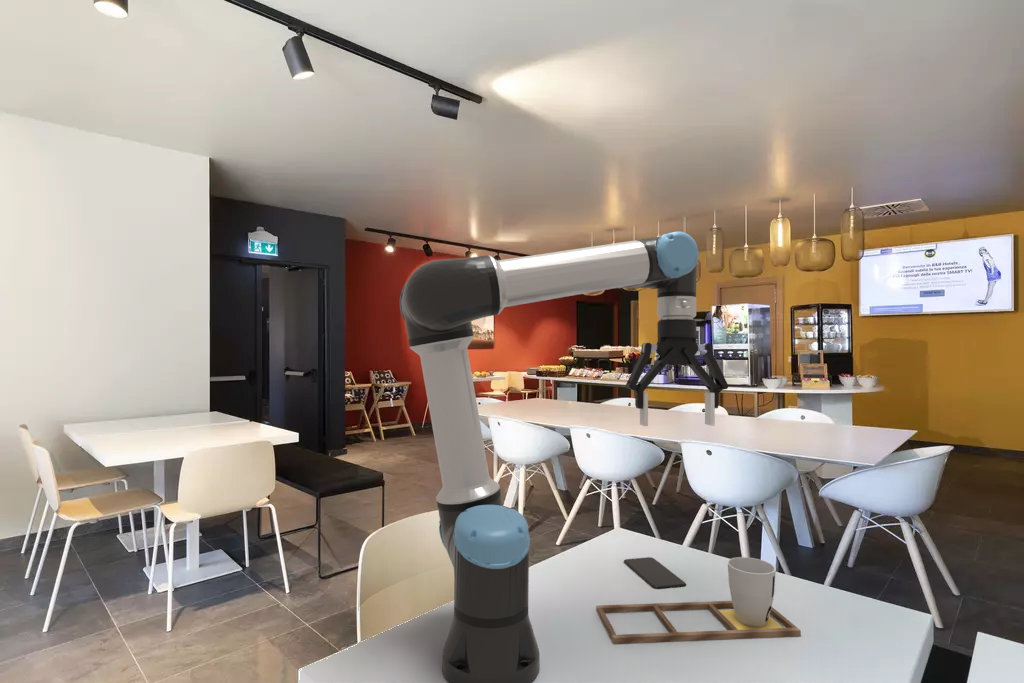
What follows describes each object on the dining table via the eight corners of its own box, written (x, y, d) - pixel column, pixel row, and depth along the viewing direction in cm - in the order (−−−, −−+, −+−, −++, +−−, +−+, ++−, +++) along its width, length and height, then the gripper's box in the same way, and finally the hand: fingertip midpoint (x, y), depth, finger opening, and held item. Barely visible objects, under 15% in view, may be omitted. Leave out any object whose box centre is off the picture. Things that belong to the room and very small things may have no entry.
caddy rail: (613, 643, 92) (613, 637, 92) (596, 610, 104) (596, 605, 104) (800, 636, 95) (800, 630, 95) (763, 604, 107) (763, 599, 107)
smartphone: (688, 588, 116) (652, 560, 131) (688, 584, 116) (652, 556, 131) (654, 591, 114) (621, 562, 129) (654, 587, 114) (621, 559, 129)
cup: (781, 633, 96) (781, 575, 96) (732, 628, 97) (732, 571, 98) (769, 612, 104) (769, 559, 104) (724, 607, 105) (724, 555, 106)
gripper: (621, 317, 105) (621, 427, 105) (745, 318, 107) (746, 427, 107) (610, 319, 113) (610, 423, 112) (727, 320, 115) (727, 422, 114)
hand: (676, 425), depth 110 cm, fingers open, 13 cm apart
